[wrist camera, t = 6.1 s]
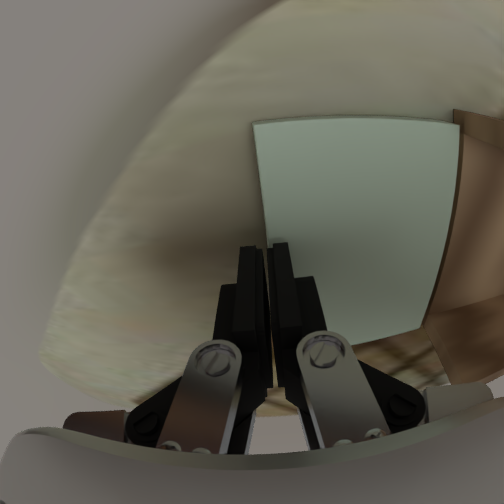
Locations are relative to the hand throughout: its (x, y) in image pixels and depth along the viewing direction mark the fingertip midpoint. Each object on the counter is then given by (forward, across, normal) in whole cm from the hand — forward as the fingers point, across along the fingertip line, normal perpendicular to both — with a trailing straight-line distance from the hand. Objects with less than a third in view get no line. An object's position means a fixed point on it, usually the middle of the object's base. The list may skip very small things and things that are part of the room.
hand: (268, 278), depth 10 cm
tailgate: (+1, -8, 0) cm, 8 cm away
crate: (+2, -18, 0) cm, 18 cm away
